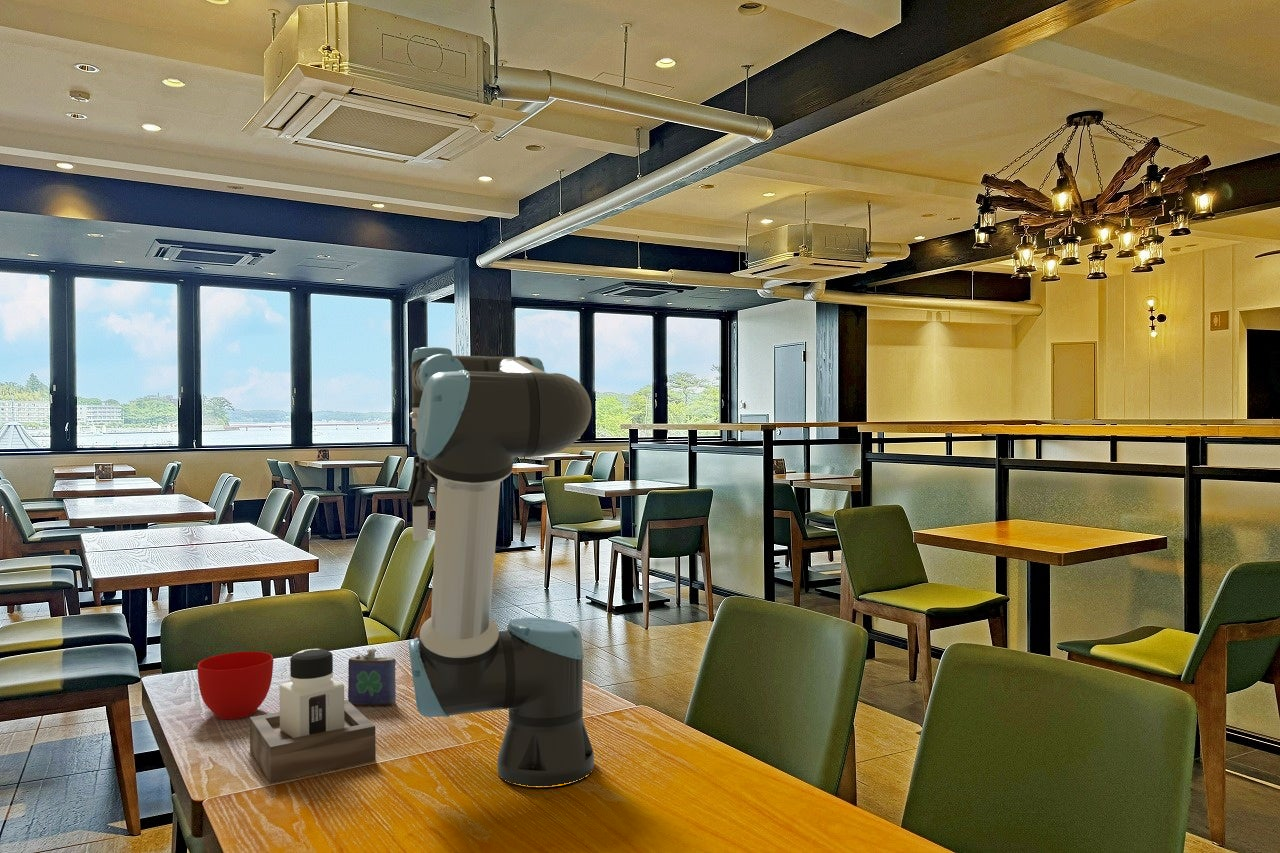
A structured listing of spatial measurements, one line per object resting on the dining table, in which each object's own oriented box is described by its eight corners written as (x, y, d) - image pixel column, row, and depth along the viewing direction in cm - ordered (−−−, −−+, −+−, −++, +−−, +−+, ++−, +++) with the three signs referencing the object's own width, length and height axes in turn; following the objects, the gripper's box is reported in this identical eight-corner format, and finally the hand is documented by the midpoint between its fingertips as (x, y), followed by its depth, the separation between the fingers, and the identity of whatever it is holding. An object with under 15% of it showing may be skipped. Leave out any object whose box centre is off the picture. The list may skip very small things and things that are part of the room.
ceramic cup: (250, 693, 177) (249, 644, 177) (284, 713, 165) (284, 660, 165) (180, 708, 168) (180, 656, 168) (211, 731, 156) (211, 674, 156)
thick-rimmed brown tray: (375, 759, 142) (375, 726, 142) (270, 783, 133) (270, 747, 133) (347, 730, 156) (347, 699, 156) (250, 750, 147) (249, 717, 147)
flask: (397, 702, 171) (397, 647, 171) (392, 707, 168) (392, 651, 168) (350, 701, 172) (350, 647, 172) (345, 706, 169) (344, 651, 169)
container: (345, 730, 145) (344, 651, 144) (299, 742, 139) (298, 661, 139) (324, 719, 150) (323, 643, 150) (278, 730, 145) (278, 651, 144)
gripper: (391, 430, 172) (391, 538, 173) (438, 431, 152) (438, 554, 152) (427, 429, 176) (428, 535, 177) (478, 431, 156) (479, 550, 156)
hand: (433, 544), depth 164 cm, fingers open, 13 cm apart
